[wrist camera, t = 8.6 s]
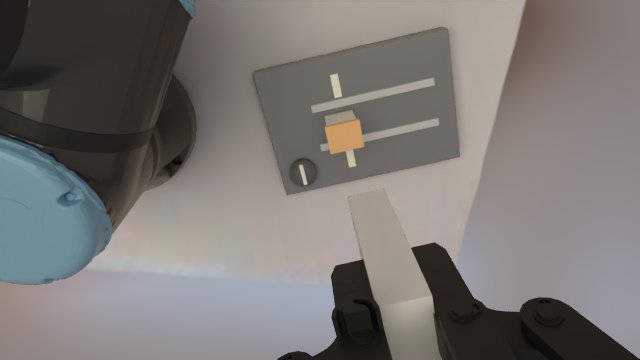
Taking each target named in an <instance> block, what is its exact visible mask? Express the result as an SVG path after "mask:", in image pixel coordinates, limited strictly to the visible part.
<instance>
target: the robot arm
mask: <svg viewBox="0 0 640 360" xmlns="http://www.w3.org/2000/svg"><path fill="white" fill-rule="evenodd" d="M194 1H195V0H0V281H2V282H7V283H12V284H23V285H39V284H47V283H51V282H53V281H55V280H59V279H66V278H68V277H71V276H73V275H74V274H76V273H78V272H79V271H80V270H82V269H83V268H84V267H85V266H87V265H88V264H89V262H90V261H91V260H92V259H93V258H94V257H95V256H96V255H98V254H99V253H100V252H102V251H103V250H104V249H105V247H106V246H107V245H108V243H109V241H110V239H111V235H112V234H113V233H114V231H115V230H116V229H117V227H118V226H119V224H120V223H121V222H122V220H123V219H124V218H125V216H126V215H127V213H128V212H129V211H130V209H131V208H132V206H133V205H134V204H135V202H136V201H137V200H138V198H139V197H140V195H141V194H142V193H143V191H146V190H149V189H152V188H155V187H157V186H159V185H161V184H163V183H165V182H166V181H168V180H169V179H170V178H172V177H173V176H174V175H175V174H176V173H177V172H178V171H179V170H180V169H181V167H182V166H183V165H184V163H185V162H186V160H187V158H188V157H189V155H190V153H191V151H192V149H193V146H194V142H195V138H196V117H195V112H194V109H193V105H192V103H191V100H190V98H189V96H188V94H187V93H186V91H185V89H184V88H183V86H182V85H181V84H180V82H179V81H178V80H177V79H176V78H175V76H174V75H173V74H172V73H173V70H174V67H175V64H176V61H177V58H178V55H179V51H180V48H181V45H182V42H183V39H184V36H185V33H186V30H187V27H188V24H189V21H190V20H191V19H193V17H194V8H193V5H194ZM348 201H349V205H350V210H351V214H352V219H353V223H354V228H355V232H356V237H357V241H358V246H359V250H360V255H361V258H362V260H359V261H354V262H350V263H345V264H341V265H336V266H335V268H334V270H333V273H332V275H331V280H332V287H333V294H334V302H335V308H334V310H333V312H332V321H333V325H334V328H335V332H336V335H337V337H336V339H335V340H334V342H333V343H332V344H331V345H330V346H329V347H328V348H327V349H325V350H324V351H322V352H321V353H319V354H317V355H315V356H313V357H312V356H310V355H309V354H308V353H306V352H299V351H296V352H291V353H288V354H285V355H283V356H281V357H280V358H279V359H278V360H441V358H442V360H640V359H639V358H637V357H636V356H635V355H633V354H632V353H631V352H629V351H628V350H627V349H625V348H624V347H623V346H621V345H620V344H619V343H617V342H616V341H615V340H614V339H612V338H611V337H610V336H608V335H607V334H606V333H604V332H603V331H602V330H600V329H599V328H598V327H596V326H595V325H594V324H593V323H591V322H590V321H589V320H587V319H586V318H585V317H583V316H582V315H581V314H579V313H578V312H577V311H575V310H574V309H573V308H572V307H570V306H569V305H567V304H565V303H563V302H562V301H559V300H555V299H552V298H535V299H531V300H528V301H527V302H526V303H524V304H523V305H522V307H521V309H520V312H505V311H496V310H491V309H489V308H486V307H485V306H484V305H483V303H482V302H480V301H478V300H476V299H474V297H473V296H472V294H471V292H470V291H469V289H468V287H467V286H466V284H465V282H464V280H463V279H462V277H461V275H460V273H459V272H458V270H457V269H456V266H455V265H454V263H453V261H452V260H451V258H450V256H449V254H448V253H447V251H446V249H444V248H443V247H441V246H440V245H438V244H436V243H431V244H426V245H422V246H417V247H413V248H411V247H410V245H409V243H408V241H407V238H406V236H405V234H404V232H403V229H402V227H401V225H400V223H399V221H398V218H397V216H396V214H395V212H394V209H393V207H392V205H391V203H390V201H389V198H388V196H387V194H386V192H385V189H380V190H376V191H371V192H367V193H363V194H358V195H354V196H349V197H348Z"/></svg>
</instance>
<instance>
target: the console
mask: <svg viewBox="0 0 640 360" xmlns="http://www.w3.org/2000/svg"><path fill="white" fill-rule="evenodd" d="M253 77H254V80H255V84H256V88H257V91H258V95H259V98H260V102H261V105H262V109H263V112H264V116H265V119H266V123H267V126H268V130H269V134H270V137H271V141H272V144H273V148H274V151H275V155H276V158H277V162H278V165H279V169H280V172H281V176H282V179H283V183H284V187H285V190H286V194H287V195H290V194H295V193H299V192H304V191H308V190H313V189H317V188H322V187H326V186H331V185H335V184H340V183H344V182H349V181H353V180H358V179H362V178H367V177H371V176H376V175H380V174H385V173H389V172H394V171H398V170H403V169H407V168H412V167H416V166H421V165H425V164H430V163H434V162H439V161H443V160H448V159H452V158H457V157H460V152H459V141H458V130H457V120H456V109H455V99H454V88H453V77H452V67H451V56H450V46H449V35H448V29H447V28H444V27H439V28H435V29H431V30H427V31H422V32H418V33H414V34H410V35H405V36H401V37H397V38H393V39H388V40H384V41H380V42H376V43H371V44H367V45H363V46H359V47H354V48H350V49H346V50H342V51H337V52H333V53H329V54H325V55H320V56H316V57H312V58H308V59H303V60H299V61H295V62H291V63H286V64H282V65H278V66H274V67H269V68H265V69H261V70H257V71H254V73H253ZM349 110H353V113H354V115H355V117H356V119H357V118H359V120H360V126H361V131H362V136H363V141H364V147H361V148H357V149H352V150H348V151H344V152H339V153H335V154H330V149H329V145H328V140H327V136H326V131H325V127H324V126H326V122H325V117H324V116H327V115H331V114H335V113H340V112H344V111H349Z"/></svg>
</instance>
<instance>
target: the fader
mask: <svg viewBox="0 0 640 360" xmlns="http://www.w3.org/2000/svg"><path fill="white" fill-rule="evenodd" d="M324 117H325V122H326V126H324V127H325V131H326V136H327V140H328V145H329V149H330V154H335V153H339V152H344V151H348V150H352V149H357V148H361V147H364V141H363V136H362V131H361V126H360V120H359V118H357V119H356V117H355V115H354V113H353V110H349V111H344V112H340V113H335V114H331V115H327V116H324Z"/></svg>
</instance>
